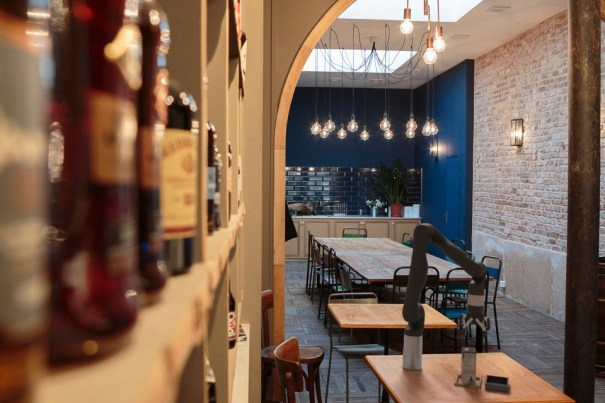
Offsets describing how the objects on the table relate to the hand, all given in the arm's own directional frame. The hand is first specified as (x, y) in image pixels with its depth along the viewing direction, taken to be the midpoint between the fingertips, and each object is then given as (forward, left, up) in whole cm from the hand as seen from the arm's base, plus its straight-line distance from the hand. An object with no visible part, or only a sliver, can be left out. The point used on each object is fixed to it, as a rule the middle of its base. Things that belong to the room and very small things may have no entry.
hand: (474, 337), depth 268 cm
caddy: (+11, -3, -22) cm, 24 cm away
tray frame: (-2, -2, -22) cm, 22 cm away
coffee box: (-2, -2, -22) cm, 22 cm away
